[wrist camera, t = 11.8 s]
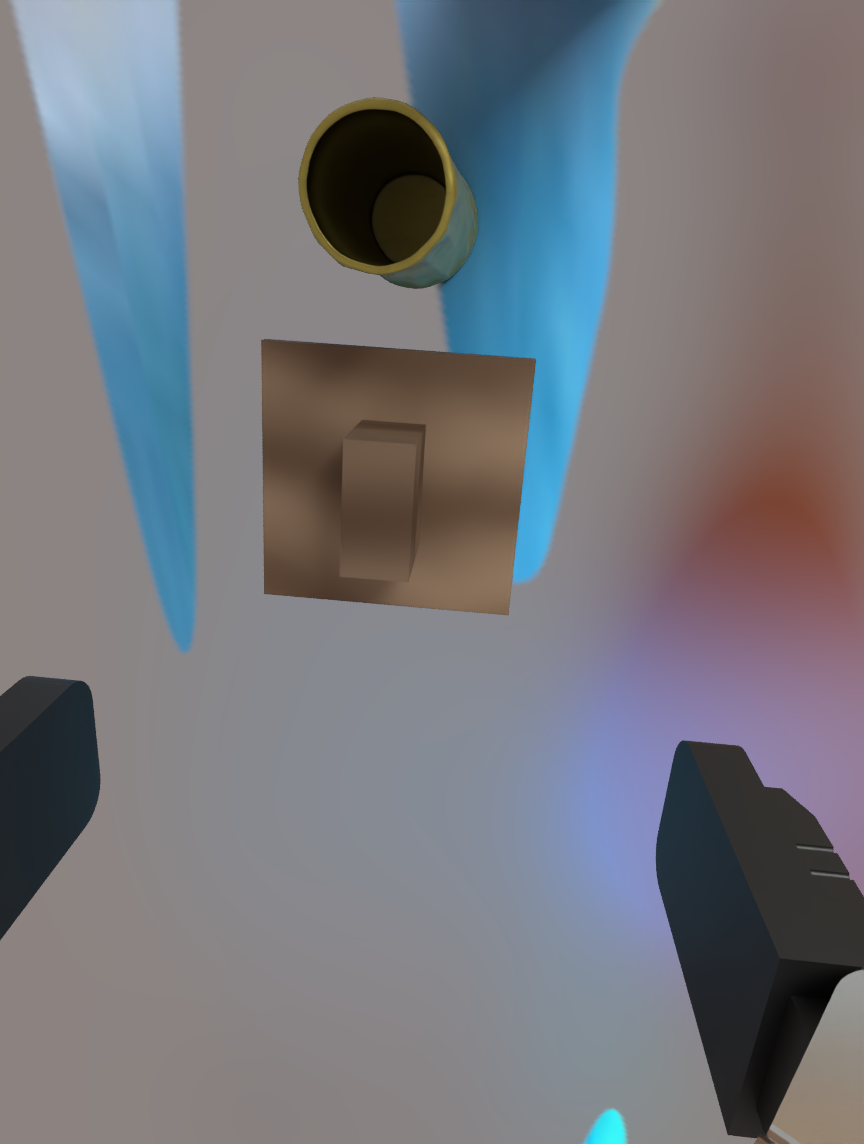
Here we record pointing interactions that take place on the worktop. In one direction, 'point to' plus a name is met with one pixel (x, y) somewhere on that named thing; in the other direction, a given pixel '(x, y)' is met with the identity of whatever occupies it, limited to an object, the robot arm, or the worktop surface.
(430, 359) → the lid
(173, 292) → the worktop surface
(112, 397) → the worktop surface
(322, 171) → the vase
